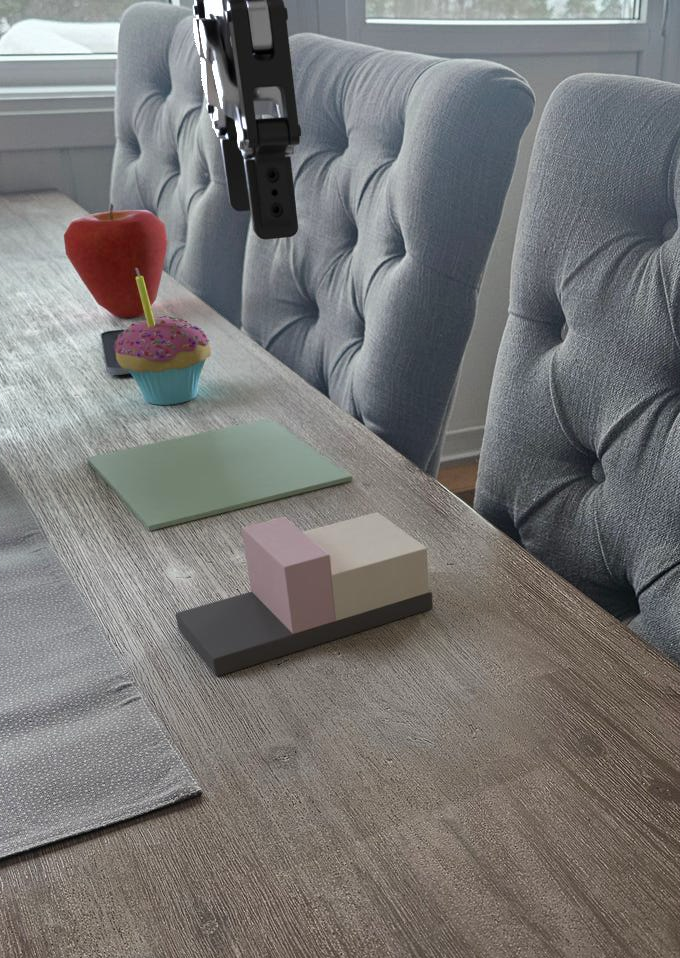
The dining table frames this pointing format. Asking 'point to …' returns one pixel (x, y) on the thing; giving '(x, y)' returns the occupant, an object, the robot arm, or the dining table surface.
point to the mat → (214, 472)
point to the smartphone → (111, 352)
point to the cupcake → (163, 355)
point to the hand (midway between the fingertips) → (262, 222)
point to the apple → (118, 257)
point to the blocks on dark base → (310, 590)
